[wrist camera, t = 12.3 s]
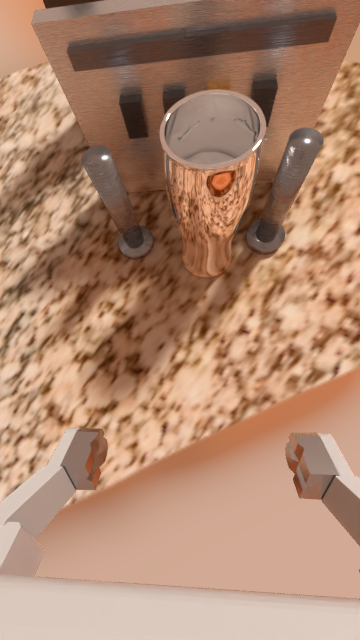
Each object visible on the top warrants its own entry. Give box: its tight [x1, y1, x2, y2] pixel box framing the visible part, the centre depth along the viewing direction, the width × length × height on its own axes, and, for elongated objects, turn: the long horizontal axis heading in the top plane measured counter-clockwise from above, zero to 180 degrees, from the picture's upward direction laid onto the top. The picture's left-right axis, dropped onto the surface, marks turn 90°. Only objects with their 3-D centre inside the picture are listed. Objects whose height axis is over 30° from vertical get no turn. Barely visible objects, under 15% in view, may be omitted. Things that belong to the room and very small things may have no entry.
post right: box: [246, 128, 323, 254], centre depth 23 cm, size 4×4×12 cm
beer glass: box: [159, 89, 266, 278], centre depth 21 cm, size 7×7×15 cm
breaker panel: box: [32, 0, 360, 193], centre depth 24 cm, size 24×3×16 cm, turn 89°
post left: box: [81, 146, 153, 259], centre depth 24 cm, size 4×4×12 cm
